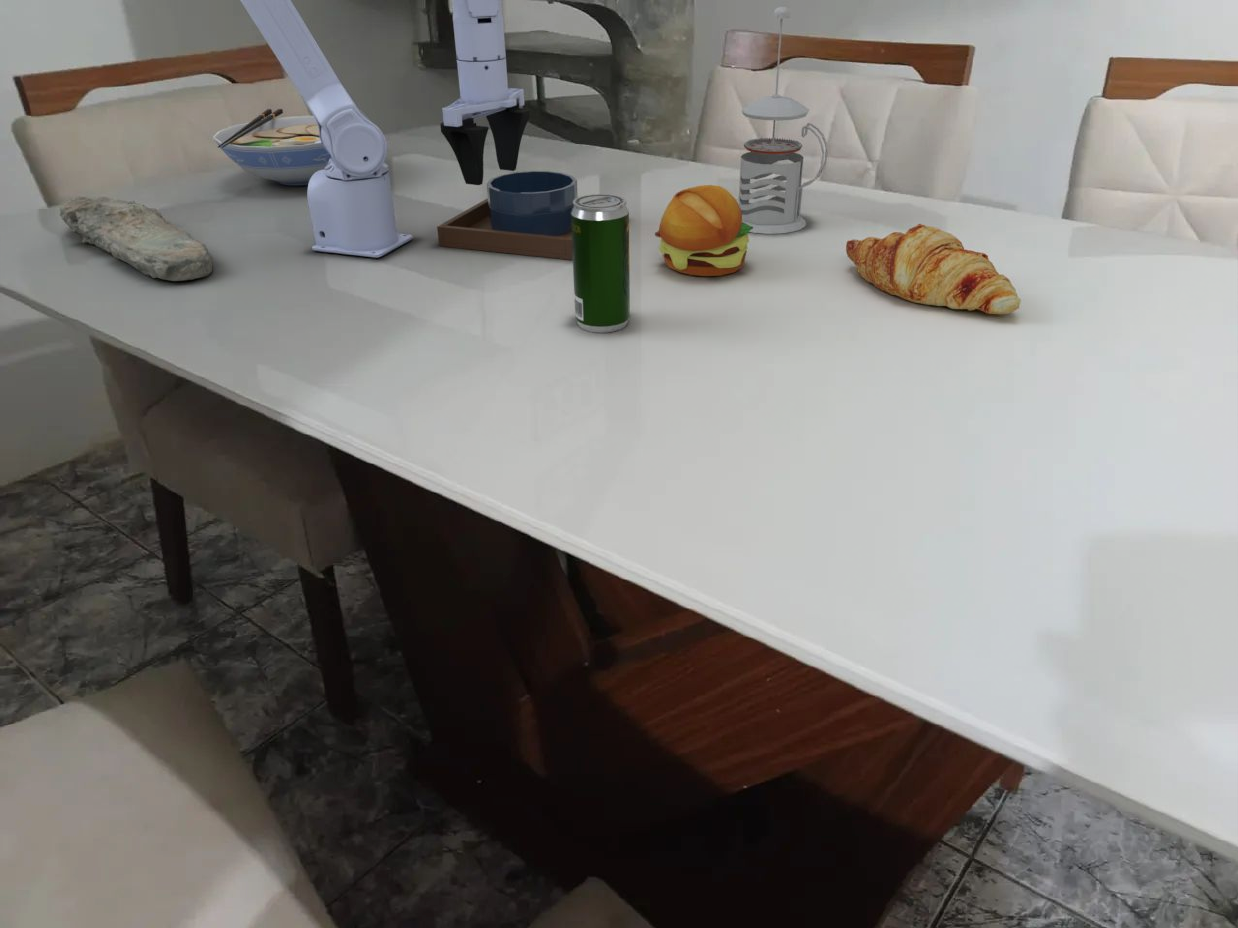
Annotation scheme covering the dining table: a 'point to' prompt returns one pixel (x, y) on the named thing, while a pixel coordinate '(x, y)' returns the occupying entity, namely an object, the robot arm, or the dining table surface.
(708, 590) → the dining table surface
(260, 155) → the ramen bowl
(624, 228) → the beer can
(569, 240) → the serving tray
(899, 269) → the croissant
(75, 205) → the elongated rock
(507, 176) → the blue bowl
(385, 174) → the robot arm
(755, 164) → the french press
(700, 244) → the cheeseburger
